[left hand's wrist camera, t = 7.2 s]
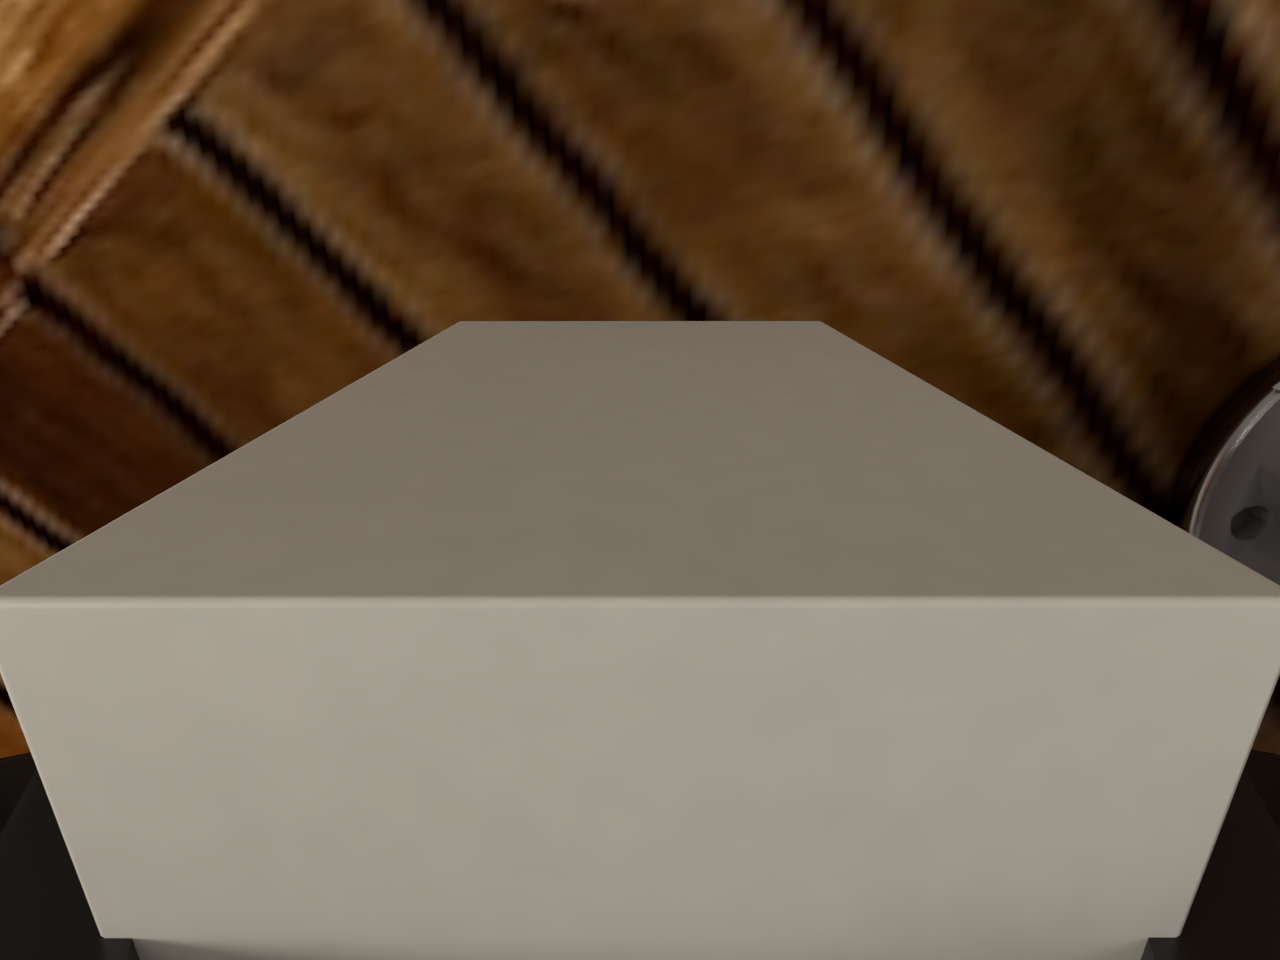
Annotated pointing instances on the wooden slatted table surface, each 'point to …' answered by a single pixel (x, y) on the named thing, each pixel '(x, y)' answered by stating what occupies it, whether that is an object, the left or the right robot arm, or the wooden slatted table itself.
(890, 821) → the box
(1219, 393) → the wooden slatted table surface
